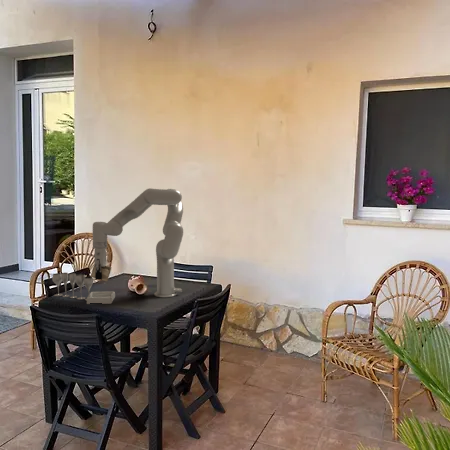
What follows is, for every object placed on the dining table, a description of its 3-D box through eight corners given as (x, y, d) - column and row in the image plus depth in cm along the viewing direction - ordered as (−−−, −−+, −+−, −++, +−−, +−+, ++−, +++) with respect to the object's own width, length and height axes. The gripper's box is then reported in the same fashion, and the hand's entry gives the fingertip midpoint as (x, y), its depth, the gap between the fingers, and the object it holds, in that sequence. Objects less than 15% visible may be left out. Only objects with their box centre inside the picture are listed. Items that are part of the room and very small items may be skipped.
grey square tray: (114, 297, 252) (114, 291, 252) (111, 303, 240) (111, 297, 240) (91, 297, 251) (91, 291, 251) (86, 303, 239) (86, 297, 238)
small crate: (108, 277, 248) (111, 267, 247) (107, 281, 242) (110, 271, 241) (92, 272, 246) (95, 262, 245) (90, 276, 240) (93, 266, 239)
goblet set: (96, 298, 247) (95, 274, 245) (88, 301, 242) (87, 276, 240) (58, 293, 259) (57, 270, 258) (50, 295, 254) (49, 272, 253)
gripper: (104, 247, 234) (104, 281, 236) (109, 242, 251) (109, 274, 253) (89, 247, 233) (89, 281, 235) (95, 242, 251) (95, 274, 252)
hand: (100, 277), depth 244 cm, fingers closed on small crate, 7 cm apart
